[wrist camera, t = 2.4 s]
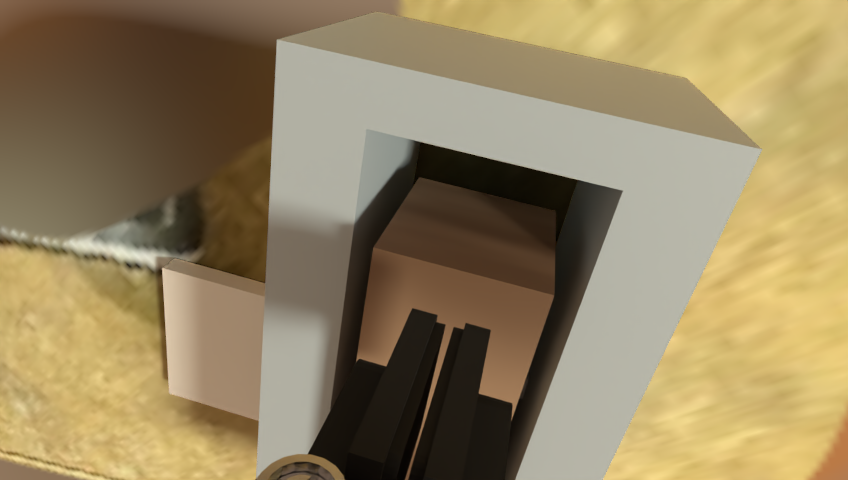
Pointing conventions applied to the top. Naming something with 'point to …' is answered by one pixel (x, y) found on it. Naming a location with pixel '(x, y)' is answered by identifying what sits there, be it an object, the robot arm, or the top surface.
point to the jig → (508, 142)
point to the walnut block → (464, 279)
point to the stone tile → (214, 336)
